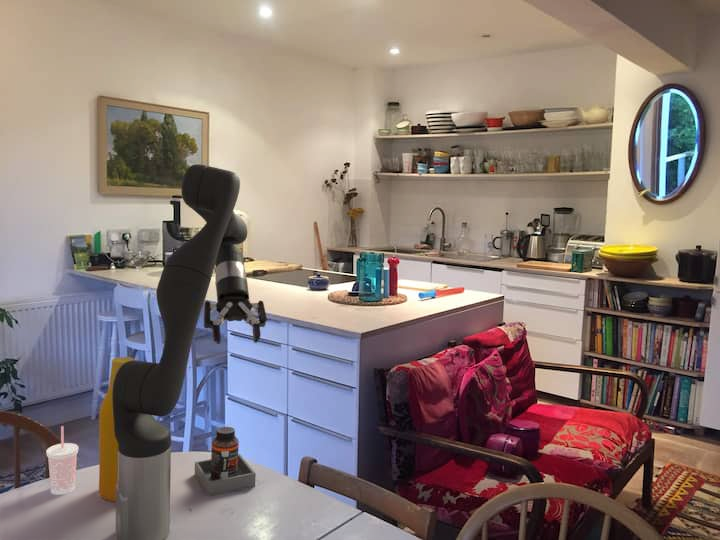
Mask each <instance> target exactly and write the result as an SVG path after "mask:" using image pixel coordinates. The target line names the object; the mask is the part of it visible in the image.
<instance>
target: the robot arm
mask: <svg viewBox="0 0 720 540" xmlns="http://www.w3.org/2000/svg"><path fill="white" fill-rule="evenodd" d="M240 189H241V179H240V176H239V175H238V174H237V173H236V172H234V171H231V170H227V169H223V168H219V167H214V166H211V165H206V164H197V163H196V164H192V165H190V166H189V167H188V168H187V169H186V171H185V173H184V176H183V178H182V183H181V197H182V200H183V202H184V204H185V205H186V206H187V207H189V208H191V209H192V210H193V211H194V212H195V213H197V215H199V216H200V217H201V218H202V219H203V220H204V221H205V224H204V226H203V227H201V229H200V230H199V231H198V232H197V233H196V234H194V235H193V236H192V237H190V238H189V239H188V240H187V241H186V242H184V243H183V244H182V245H180V246H179V247H178V248H177V249H176V250H174V252H172V253H171V254H170V256H169V257H168V258H167V260H166V261H165V264H164V266H163V269H162V272H161V275H160V277H159V281H158V283H157V287H156V302H157V306H158V310H159V314H160V317H161V321H162V325H163V328H164V342H163V343H164V344H163V348H162V354H161V357H160V359H159V362H158V363H156V362H152V361H143V360H135V359H134V360H132V361H128V362H126V363H124V364H123V365H122V366H121V367H120V368H119V370H118V371H117V373H116V376H115V379H114V383H113V391H112V403H113V419H114V434H115V438H116V440H117V442H118V484H116V501H115V534H116V537H117V539H118V540H165V539H166V538H167V537H168V535H169V534H170V530H171V529H170V528H171V471H172V470H171V467H172V466H171V465H172V464H171V462H172V461H171V460H172V455H171V454H172V433H171V431H170V429H169V428H168V427H167V426H166V425H165V424H163V423H162V422H160V421H158V419H156V418H155V417H166V416H168V415H169V414H171V413H172V412H173V410H174V409H175V407H176V406H177V404H178V402H179V400H180V396H181V394H182V391H183V386H184V381H185V376H186V372H187V367H188V362H189V357H190V354H191V349H192V344H193V339H194V336H195V332H196V329H197V325H198V321H199V319H200V315H201V312H202V309H203V327H204V329H211V330H212V341H213V342H215V343H216V345H218V344H219V345H220V343H221V340H222V339H221V325H223V324H224V323H225V321H227V322H233V321H236V322H242V321H244V323H246V324H247V325H249V326H250V327H251V328H252V337H253V343H255V344H256V343H258V341H260V338H261V328H264V327H266V324H267V320H268V319H267V313H266V309H265V304H264V301H262V300H259V301H258V302H251V300H250V293H249V292H250V291H249V287H248V286H249V285H248V278H247V276H248V275H247V272H246V271H247V270H246V267H245V261H244V254H243V250H242V249H241V247H239V246H237V245H240V244H243V243H244V242H245V241H246V240H247V237H248V227H247V224H246V223H245V221H244V219H243V218H242V217H241V216H240V215H238V214H236V213H235V211H234V209H235V206H236V204H237V201H238V198H239V194H240ZM214 268H215V269H214ZM214 270H215V277H214V278H215V287H216V288H215V289H216V290H215V291H216V303H211V302H210V301H209V300H207V301H206V297H207V295H208V291H209V287H210V285H211V281H212V278H213V274H214ZM252 309H253V310H254V312H255V313H257V315H258V318H257V317H256V316H255V314H254V313H253V312H252ZM214 310H215V311H217V312H218V315H217V317H216V318H214V320H212V319H211V314H212V313H214ZM154 416H155V417H154Z"/></svg>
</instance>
